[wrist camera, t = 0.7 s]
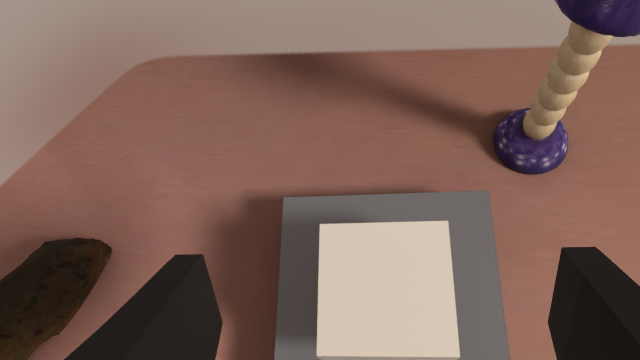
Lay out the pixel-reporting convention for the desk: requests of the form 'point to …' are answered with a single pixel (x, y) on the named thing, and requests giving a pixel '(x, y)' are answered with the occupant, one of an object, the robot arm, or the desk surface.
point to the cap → (386, 292)
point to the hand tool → (47, 293)
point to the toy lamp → (563, 84)
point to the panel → (455, 207)
